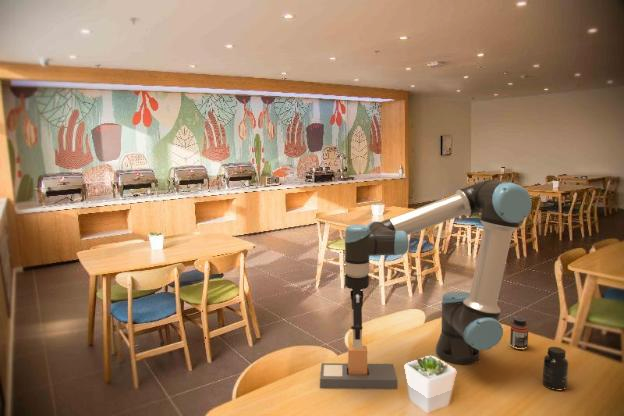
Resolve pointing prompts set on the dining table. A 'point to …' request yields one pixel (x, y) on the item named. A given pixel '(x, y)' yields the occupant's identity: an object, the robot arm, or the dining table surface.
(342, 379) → the block
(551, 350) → the supplement bottle
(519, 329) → the supplement bottle
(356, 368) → the plug
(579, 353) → the dining table surface
